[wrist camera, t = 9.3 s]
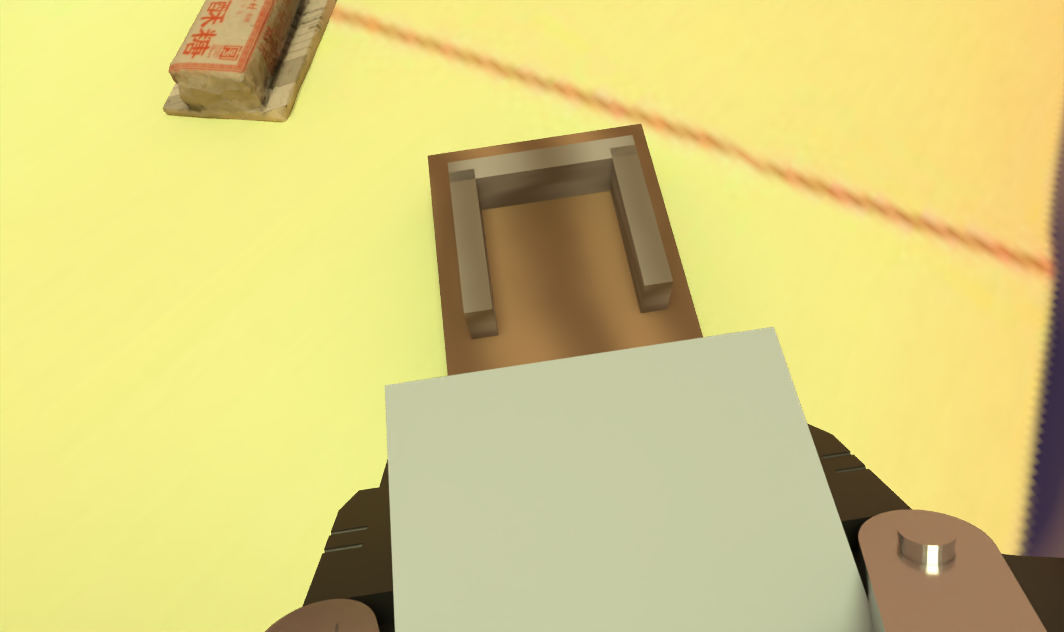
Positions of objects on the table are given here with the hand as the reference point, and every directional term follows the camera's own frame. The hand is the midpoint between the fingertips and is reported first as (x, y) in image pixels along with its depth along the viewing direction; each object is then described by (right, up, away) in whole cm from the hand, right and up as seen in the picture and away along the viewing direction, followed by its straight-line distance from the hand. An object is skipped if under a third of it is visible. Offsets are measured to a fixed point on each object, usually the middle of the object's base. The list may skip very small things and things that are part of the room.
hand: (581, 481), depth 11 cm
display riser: (+1, +3, +33) cm, 33 cm away
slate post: (+1, -5, +5) cm, 7 cm away
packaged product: (-23, +25, +48) cm, 59 cm away
